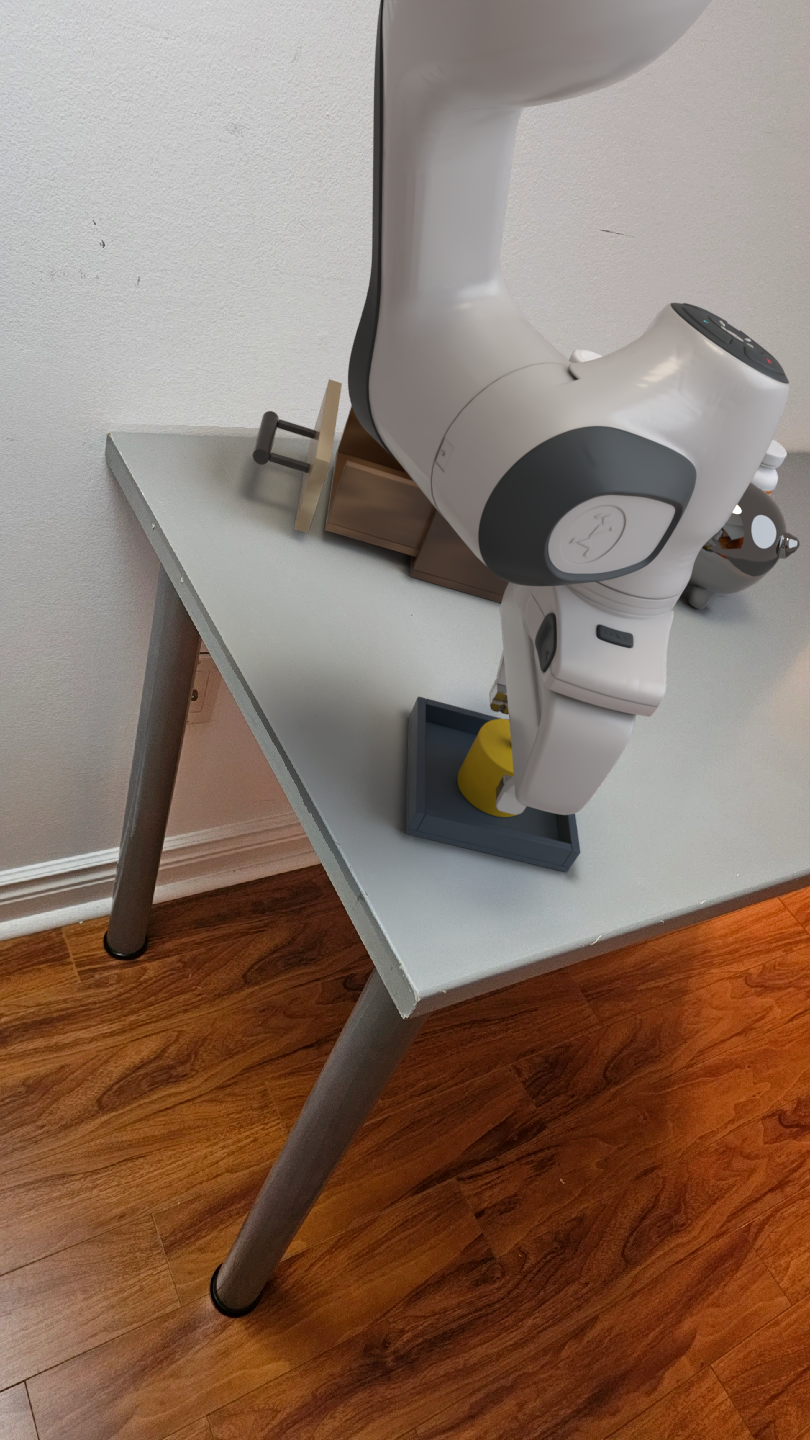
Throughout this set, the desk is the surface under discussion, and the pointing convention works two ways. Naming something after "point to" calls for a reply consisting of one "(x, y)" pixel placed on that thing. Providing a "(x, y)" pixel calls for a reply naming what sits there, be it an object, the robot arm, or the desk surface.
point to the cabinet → (453, 563)
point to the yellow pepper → (487, 766)
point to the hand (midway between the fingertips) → (502, 753)
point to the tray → (450, 817)
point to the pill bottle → (769, 468)
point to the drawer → (352, 481)
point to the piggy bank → (741, 549)
